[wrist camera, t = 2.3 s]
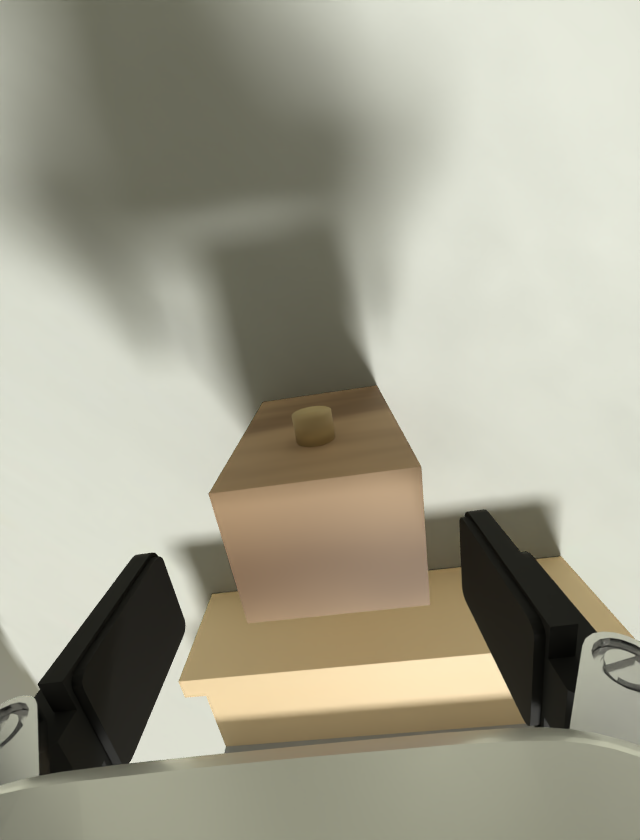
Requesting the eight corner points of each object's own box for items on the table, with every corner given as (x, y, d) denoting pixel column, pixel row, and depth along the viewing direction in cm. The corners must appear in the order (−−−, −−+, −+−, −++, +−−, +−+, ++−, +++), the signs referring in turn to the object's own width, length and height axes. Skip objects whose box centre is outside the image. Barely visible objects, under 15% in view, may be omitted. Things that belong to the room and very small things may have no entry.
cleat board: (212, 593, 23) (160, 727, 16) (561, 556, 21) (676, 685, 14) (246, 698, 26) (217, 846, 19) (550, 672, 25) (639, 822, 18)
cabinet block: (258, 383, 18) (199, 462, 10) (374, 366, 18) (418, 432, 9) (281, 484, 20) (247, 623, 12) (385, 471, 20) (430, 604, 11)
